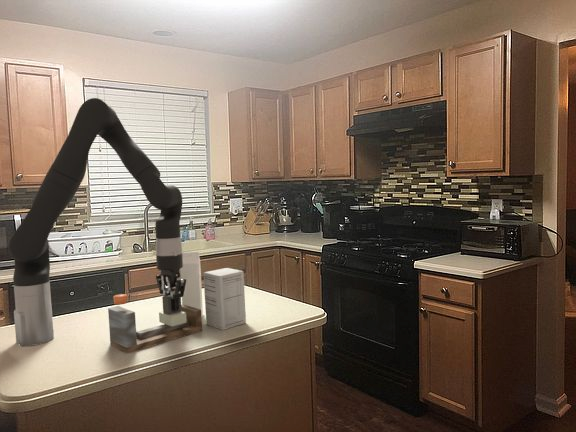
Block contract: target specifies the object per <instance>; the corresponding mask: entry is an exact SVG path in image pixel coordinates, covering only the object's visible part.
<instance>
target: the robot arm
mask: <svg viewBox="0 0 576 432" xmlns="http://www.w3.org/2000/svg"><path fill="white" fill-rule="evenodd" d="M97 136H99V137H100V138H101V139H103V140H104V141H105V143H107V144H108V145H109V146H110V147H111V148H112V149H113V150H114V152H115V153H116V154H117V156H118V158H119V159H120V161H121V162H122V164H123V165H124V167H125V168H126V170H127V172H128V173H129V174H130V175H131V176H132V177H133V178H134V180H135V181H136V182H137V184H139V185H140V188H141V190H142V193H143V194H144V196H145V198H146V200H147V202H149V204H150V205H151V206H153V207H154V209H157V210H160V215H159V217H158V218H157V219H156V221H155V223H154V224H155V225H154V226H155V229H154V230H155V258H156V261H155V262H156V270H158V271H160V274H156V275H155V280H156V284H157V287H158V291H159V294H160V295H162V297H163V296H168V295H171V309H172V311H173V312H175V311H179V298H180V297H181V298H182V297H183V295H184V290H185V285H186V279H182V278H181V272H180V268H182V267H183V259H182V253H183V245H182V240H181V239H182V238H181V224H180V221H181V216H182V209H183V195H182V193H181V190H180V189H179V188H178V187H177V186H175V185H173V184H168V185H167V184H166V185H165V183H164V182H163V181H162V179H161V178H160V177H161V171H160V170H159V168H158V167H157V166H156V165H155V163H153V161H152V160H151V159H150V158H149V156H147V154H146V153H145V152H144V151H143V150H142V149H141V148H140V147H139V146H138V144H137V143H136V142H135V141H134V140H133V138H132V137H131V136H130V134H129V133H128V132H127V130H126V128H125V126H124V125H123V123H122V121H121V120H120V118H119V117H118V115H117V113H116V111H115V110H114V108H112V106H110V105H109V104H108V103H107V102H106V101H104V100H103V99H101V98H99V97H92V98H89V99H87V100H85V101H84V102H83V103H82V104H81V105H80V107H79V109H78V110H77V112H76V115H75V117H74V120H73V122H72V124H71V127H70V130H69V132H68V135H67V137H66V139H65V140H64V143H63V144H62V146H61V148H60V149H59V150H58V153H57V155H56V157H55V159H54V161H52V164H51V166H50V167H49V169H48V170H47V173H46V175H45V176H44V178H43V180H42V182H41V184H40V186H39V188H38V191H37V193H36V194H35V197H34V200H33V201H32V202H33V203H32V204H31V207H30V209H29V210H28V212H27V214H26V216H25V217H24V219H23V220H22V221H21V223H20V225H19V226H18V227H17V228H16V230H15V231H14V232H13V234H12V235H11V237H10V239H9V241H8V244H7V245H8V252H9V254H10V255H11V257H12V258H13V260H14V272H13V277H12V281H13V288H14V289H13V291H14V303H15V304H14V305H15V309H14V310H13V316H14V317H13V319H14V330H15V343H17V345H19V346H21V347H27V346H36V345H41V344H44V343H48V342H50V341H52V340H53V339H54V337H55V336H54V323H53V322H54V321H53V320H54V319H53V309H52V307H53V306H52V296H51V295H52V294H51V282H50V280H51V279H50V271H51V264H50V262H51V261H50V248H49V247H50V246H49V240H48V238H49V235H50V233H51V231H52V229H53V227H54V225H55V223H56V221H57V220H58V218H60V215H62V213H64V211H65V210H66V208H67V206H68V205H69V204H70V203H71V201H72V200H73V198H74V197H75V195H76V193H77V191H78V189H79V188H80V186H81V184H82V183H83V181H84V178H85V177H86V176H85V175H86V171H87V168H88V167H87V166H88V160H89V159H88V158H89V153H90V150H91V147H92V145H93V143H94V141H96V140H95V139H97Z"/></svg>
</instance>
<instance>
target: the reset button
mask: <svg viewBox="0 0 576 432" xmlns="http://www.w3.org/2000/svg"><path fill="white" fill-rule="evenodd" d="M127 303H128V294H126V293H125V294H123V293H120V294H116V295H115V294H114V296H113V305H116V306H120V305H125V304H127Z"/></svg>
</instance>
